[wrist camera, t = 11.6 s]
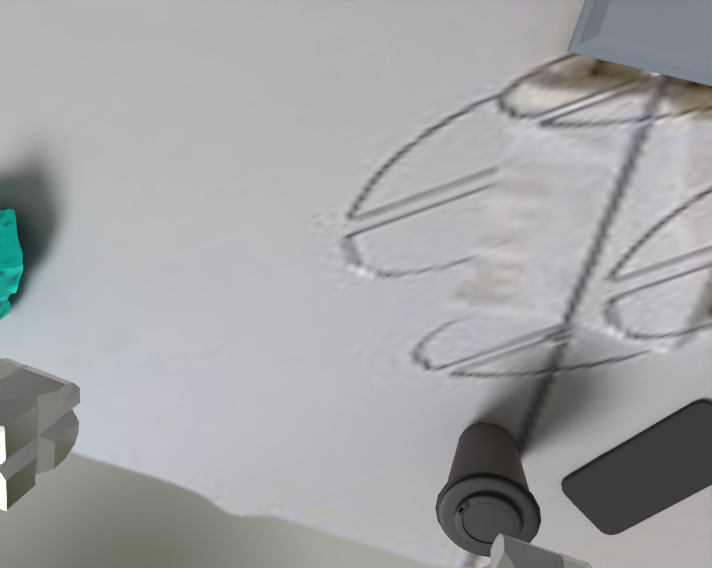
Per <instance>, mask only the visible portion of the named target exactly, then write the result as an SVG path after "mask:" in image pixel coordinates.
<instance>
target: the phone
mask: <svg viewBox="0 0 712 568" xmlns="http://www.w3.org/2000/svg"><path fill="white" fill-rule="evenodd" d="M710 485H712V403H711V402H709V401H706V400H699V401H695V402H693V403H691V404H689V405H687V406H685V407H684V408H682V409H680V410H679V411H677V412H675V413H673V414H672V415H670V416H668V417H667V418H665V419H663V420H661V421H660V422H658V423H656V424H655V425H653V426H651V427H650V428H648V429H646V430H644V431H643V432H641V433H639V434H638V435H636V436H634V437H632V438H631V439H629V440H627V441H626V442H624V443H622V444H620V445H619V446H617V447H615V448H614V449H612V450H610V451H609V452H606V453H604V454H603V455H601V456H599V457H598V458H596V459H594V460H593V461H591V462H590V463H588V464H586V465H585V466H583V467H581V468H580V469H578V470H576V471H574V472H573V473H571V474H569V475H568V476H566V477H565V478H564V479H563V480H562V483H561V486H562V490H563V492H564V494H565V495H566V496H567V497H568V498H569V499H570V500H571V501H572V502H573V503H574V504H575V505H576V507H577V508H578V509H579V510H580V511H581V512H582V513H583V514H584V515H585V516H586V517H587V518H588V519H589V520H590V521H591V522H592V523H593V524H594V525H595V526H596V527H597V528H598V529H599V530H600V531H601V532H603V533H605V534H608V535H615V534H618V533H621V532H623V531H625V530H627V529H628V528H630V527H632V526H634V525H636V524H638V523H640V522H642V521H644V520H646V519H647V518H649V517H651V516H653V515H655V514H657V513H659V512H661V511H663V510H665V509H666V508H668V507H670V506H672V505H674V504H676V503H678V502H680V501H682V500H684V499H686V498H687V497H689V496H691V495H693V494H695V493H697V492H699V491H701V490H703V489H705V488H706V487H708V486H710Z"/></svg>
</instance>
